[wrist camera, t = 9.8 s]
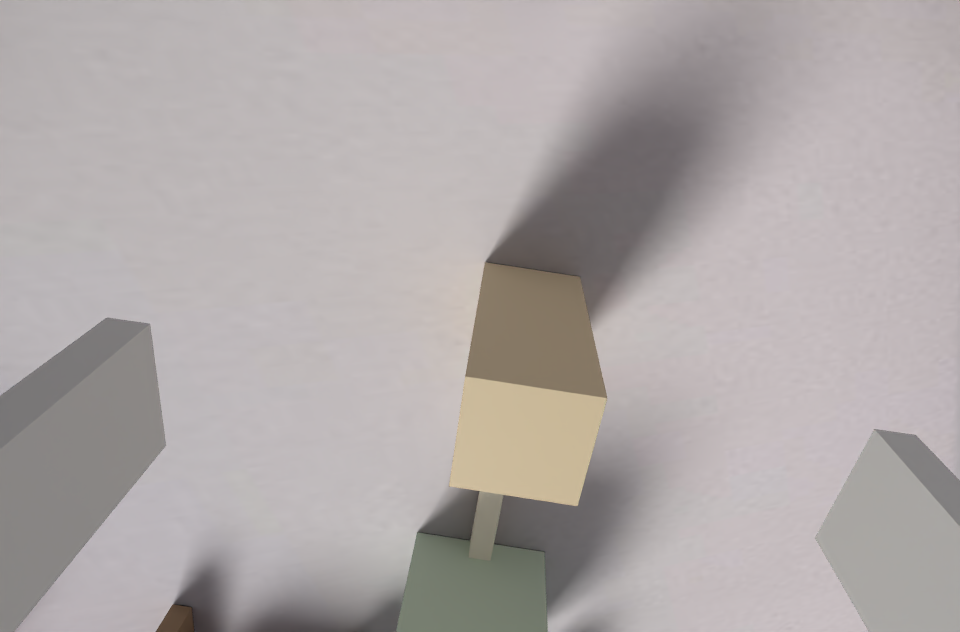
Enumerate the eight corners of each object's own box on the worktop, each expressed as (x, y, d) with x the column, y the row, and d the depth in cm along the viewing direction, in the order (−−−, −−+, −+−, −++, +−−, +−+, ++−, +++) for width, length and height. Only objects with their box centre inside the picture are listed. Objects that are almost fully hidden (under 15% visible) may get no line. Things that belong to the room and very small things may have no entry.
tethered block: (451, 257, 22) (414, 368, 14) (613, 282, 22) (658, 405, 14) (406, 618, 30) (369, 801, 23) (522, 636, 30) (522, 825, 23)
